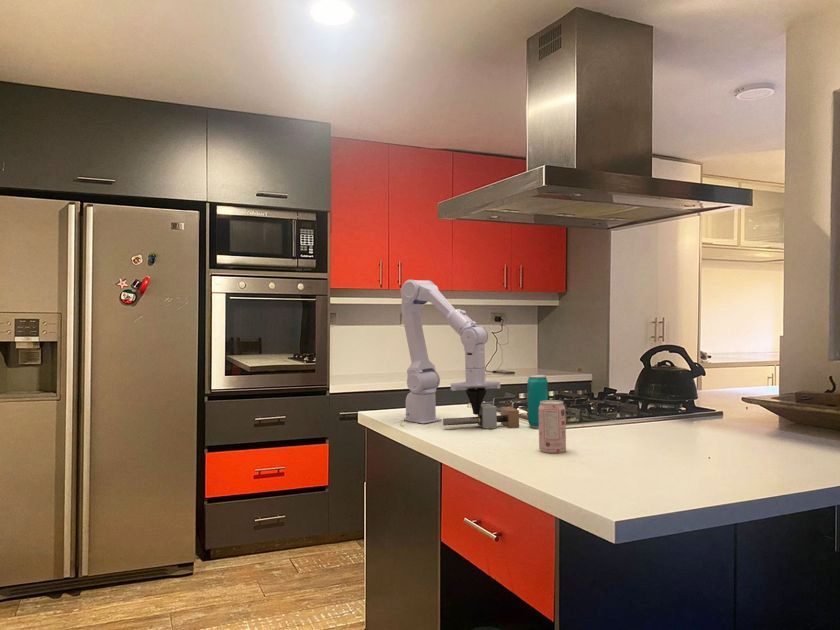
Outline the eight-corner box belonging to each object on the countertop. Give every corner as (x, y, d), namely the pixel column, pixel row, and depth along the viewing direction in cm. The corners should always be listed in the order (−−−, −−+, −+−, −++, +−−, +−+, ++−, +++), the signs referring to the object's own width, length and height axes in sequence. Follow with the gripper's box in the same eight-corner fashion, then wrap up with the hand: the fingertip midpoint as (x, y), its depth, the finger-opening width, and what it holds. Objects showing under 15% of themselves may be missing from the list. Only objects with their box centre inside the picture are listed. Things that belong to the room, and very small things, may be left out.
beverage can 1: (547, 425, 189) (546, 374, 189) (549, 429, 183) (548, 376, 183) (527, 425, 190) (526, 374, 189) (529, 429, 184) (528, 376, 184)
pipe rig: (447, 432, 181) (447, 415, 181) (440, 426, 190) (440, 410, 190) (520, 428, 185) (520, 410, 185) (510, 422, 194) (509, 406, 194)
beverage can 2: (567, 448, 159) (566, 400, 159) (564, 454, 153) (563, 404, 152) (541, 447, 161) (540, 399, 161) (537, 452, 155) (536, 403, 155)
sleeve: (483, 428, 185) (483, 407, 185) (477, 424, 191) (477, 404, 190) (496, 427, 185) (496, 406, 185) (490, 423, 191) (490, 403, 191)
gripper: (454, 370, 182) (455, 417, 182) (503, 368, 185) (504, 414, 185) (448, 367, 189) (449, 413, 189) (495, 365, 191) (496, 411, 192)
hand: (476, 414), depth 187 cm, fingers closed
